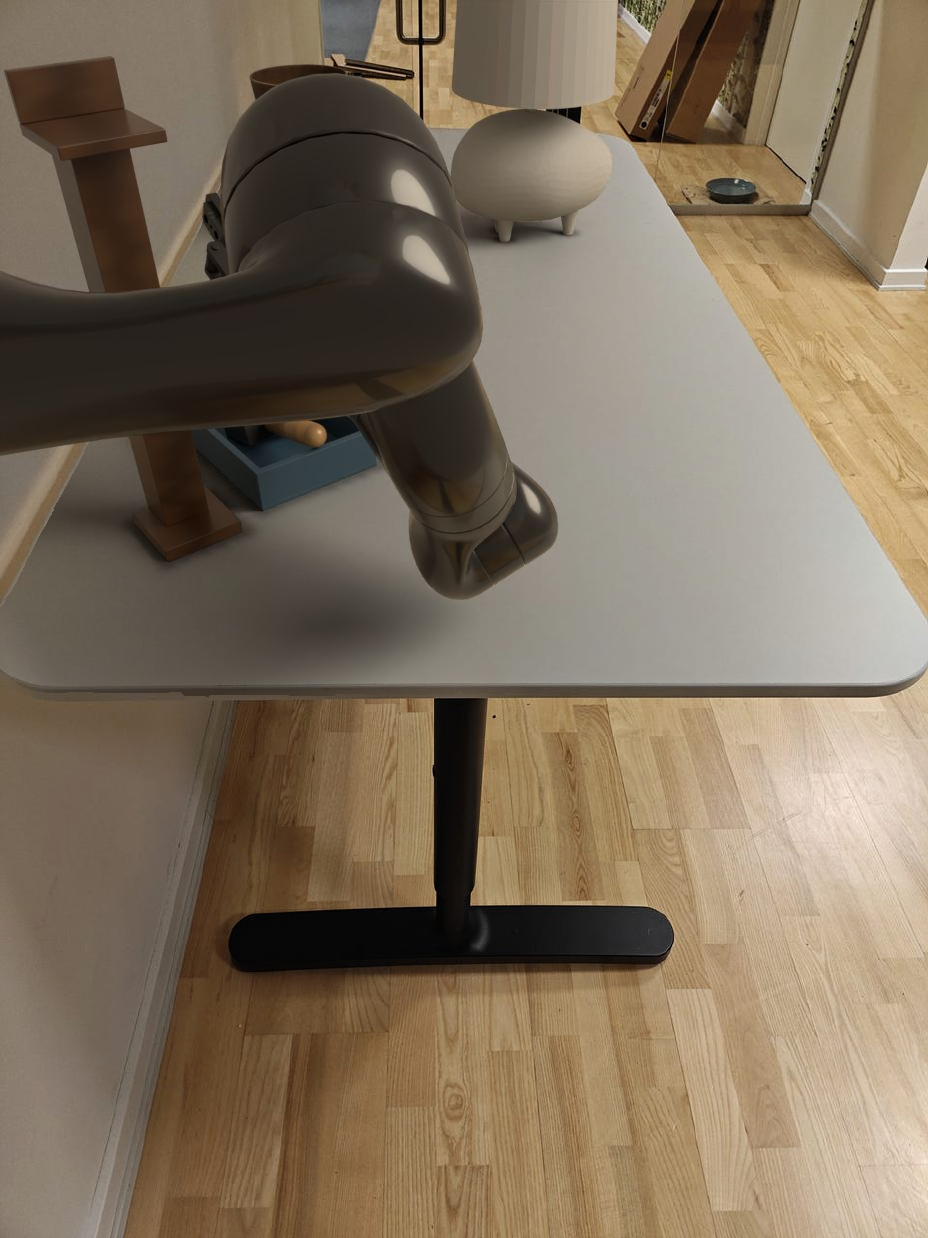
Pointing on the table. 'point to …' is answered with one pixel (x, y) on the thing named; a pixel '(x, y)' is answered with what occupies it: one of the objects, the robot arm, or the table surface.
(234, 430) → the brush
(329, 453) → the tray
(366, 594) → the table surface
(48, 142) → the tall wooden pedestal
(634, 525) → the table surface
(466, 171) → the table lamp
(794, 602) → the table surface
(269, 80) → the flower pot
